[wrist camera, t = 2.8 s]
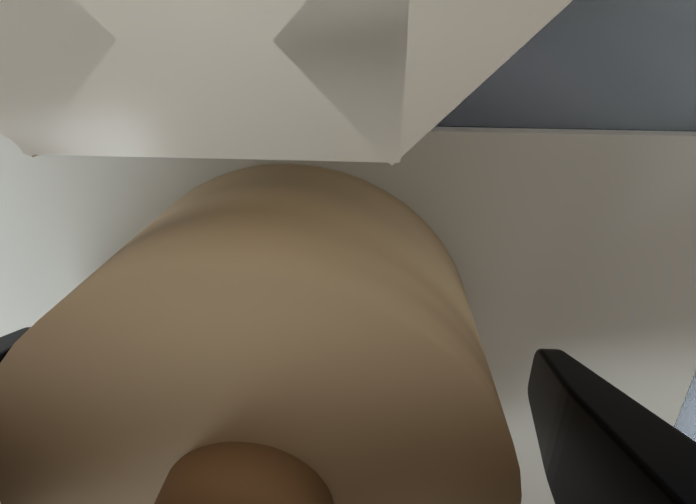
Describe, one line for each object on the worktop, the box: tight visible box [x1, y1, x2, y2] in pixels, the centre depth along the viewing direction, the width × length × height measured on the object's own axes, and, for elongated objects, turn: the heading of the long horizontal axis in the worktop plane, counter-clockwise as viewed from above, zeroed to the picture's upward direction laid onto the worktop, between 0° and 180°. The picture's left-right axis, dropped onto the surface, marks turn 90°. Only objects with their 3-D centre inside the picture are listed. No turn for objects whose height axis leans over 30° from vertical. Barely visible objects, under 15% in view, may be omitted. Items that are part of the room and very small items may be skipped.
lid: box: [0, 164, 522, 504], centre depth 7 cm, size 7×7×6 cm
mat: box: [0, 127, 696, 504], centre depth 10 cm, size 10×16×1 cm, turn 90°
